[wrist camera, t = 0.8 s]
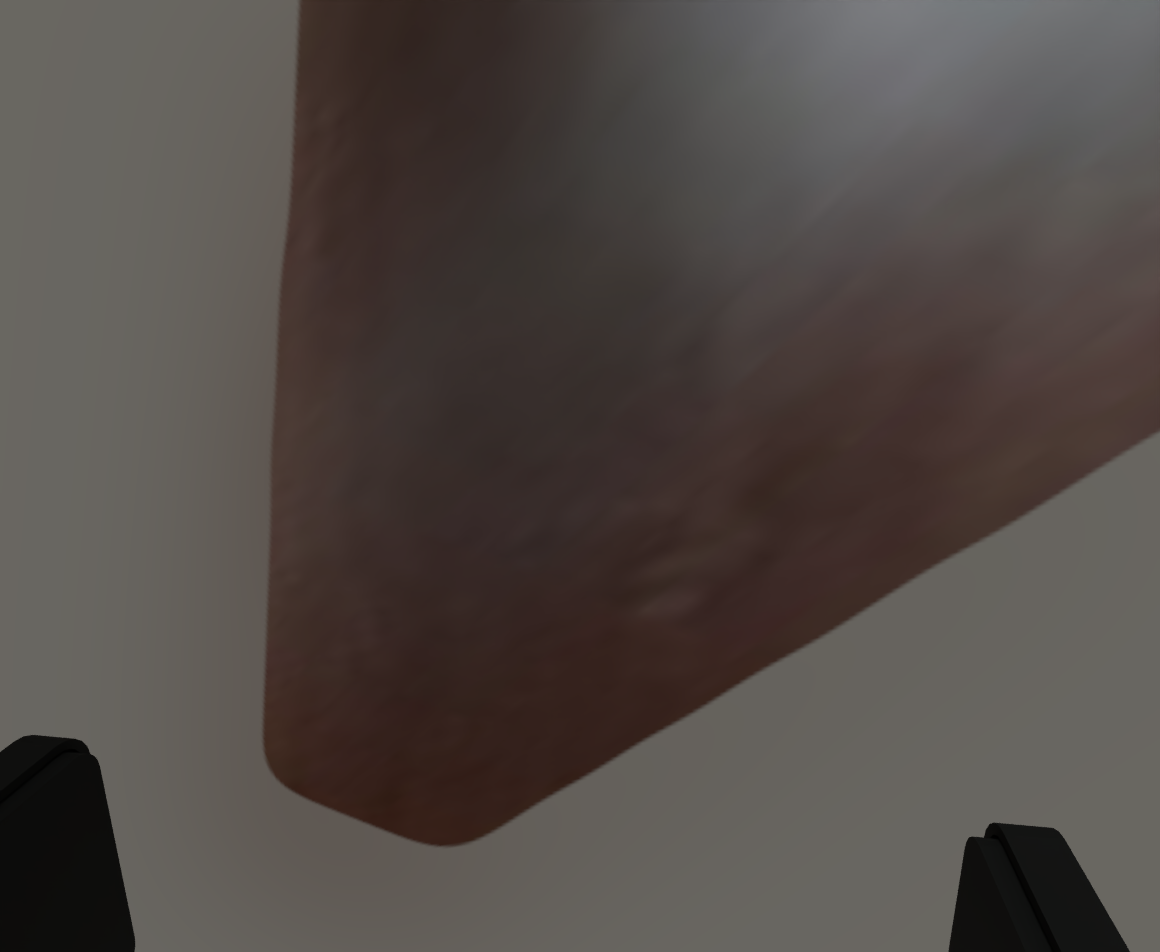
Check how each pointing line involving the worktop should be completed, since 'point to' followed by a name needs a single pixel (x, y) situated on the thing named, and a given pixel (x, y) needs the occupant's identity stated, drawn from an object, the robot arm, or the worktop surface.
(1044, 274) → the worktop surface
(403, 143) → the worktop surface
